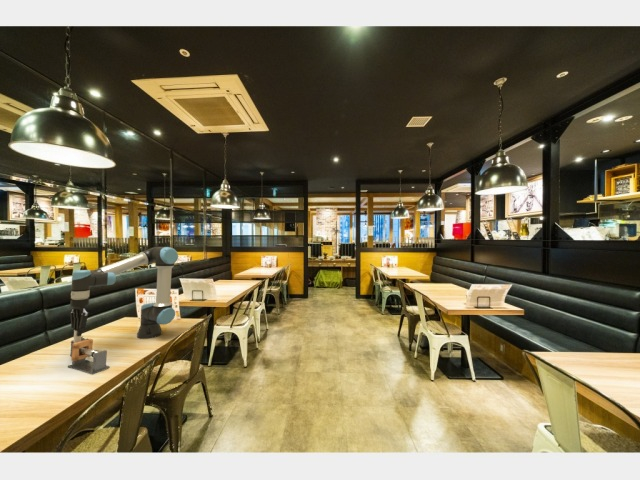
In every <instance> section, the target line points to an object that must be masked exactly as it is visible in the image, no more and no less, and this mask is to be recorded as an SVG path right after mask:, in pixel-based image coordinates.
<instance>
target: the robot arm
mask: <svg viewBox="0 0 640 480" xmlns="http://www.w3.org/2000/svg"><path fill="white" fill-rule="evenodd" d="M178 260H179V254H178V251H177V250H176V249H175V248H173V247H170V246H154V247H151V248H148V249H146V250H143V251H141V252H139V253H138V254H136V255H133V256H130V257H128V258H124V259H122V260H119V261H116V262H113V263H110V264H107V265H105V266H102V267H99V268H96V269H93V270H90V269H78V270H74V271H73V272H72V274H71V275H72V276H71V292H70V304H69V305H70V307H71V308H72V309H71V310H69V312H68V313H69V316H70V327H71V329H72V330H73V340H74V341H73V342H74V343H76V342H80V341H81V337H82V335H83V334H82V333H83V330H84V329H86V326H87V322H88V316H89V315H90V312H89V311H87V308H86V307H87V306H88V305H89V304H90V291H91V288H92V287H101V286H102V287H103V286H112V285H114V284H115V283H116V281H117V275H119V274H122V273H124V272H126V271H127V272H128V271H130V270H132V269H134V268H137V267H140V266H142V265H149V264H153V263H154V264H155V265H154V267H155V268H157V272H156V273H157V274H156V295H155V296H156V297H155V302H149V303H145V304H142V305H141V308H140V323H139V324H140V325H139V328H138V330H137V333H136V337H137V338H138V339H151V338H152V337H153V338H156V337H158V335H159V336H161V335H162V334H161V333H162V332H163V331H162V328H161V325H167V324H170V323H171V322H172V321H173V320H174V319H175V316H176V311H175V309H174V308H173V302H171V287H172V269H173V268H174V267H175V263H176V262H177V261H178ZM160 334H161V335H160ZM155 336H156V337H155Z"/></svg>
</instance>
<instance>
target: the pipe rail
mask: <svg viewBox="0 0 640 480" xmlns="http://www.w3.org/2000/svg"><path fill="white" fill-rule="evenodd" d="M107 352H108V350H107V349H106V350H105V349H103V350H97V349H96V350H95V349H93V348H92V349H87V348H86V346H85V347H82V348H79V355H80V354H84V355H88V356H89V357H92V358H93V359H92V361H91V360H87V359H86V358H87V357H86V358H83V359H80V360H77V361H72V360H71V364H70V365H68V366H67V368H70V369H72V370H76V371H80V372H82V373H86V374H89V375H95V374H97V373H100V372H102V371H105V370H107V369H110V368H111V366H109V365H107V356H108V355H107V354H108V353H107Z"/></svg>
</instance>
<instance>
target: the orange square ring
mask: <svg viewBox="0 0 640 480" xmlns="http://www.w3.org/2000/svg"><path fill="white" fill-rule="evenodd" d="M93 342H94V339H93V338H88V339H87V340H83V341H80V342H76V343H73V345H72V356H71V362H72V361H77V360H80V359H83V358H90V356H88V355H84V354H80V355H79V348H82V347H85V346H86V348H87V349H92V350H93V347H94V345H93V344H94V343H93Z"/></svg>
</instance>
